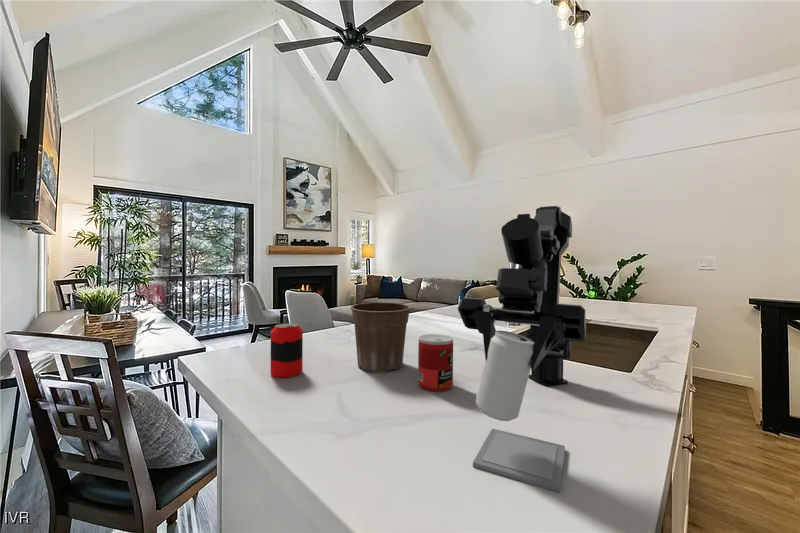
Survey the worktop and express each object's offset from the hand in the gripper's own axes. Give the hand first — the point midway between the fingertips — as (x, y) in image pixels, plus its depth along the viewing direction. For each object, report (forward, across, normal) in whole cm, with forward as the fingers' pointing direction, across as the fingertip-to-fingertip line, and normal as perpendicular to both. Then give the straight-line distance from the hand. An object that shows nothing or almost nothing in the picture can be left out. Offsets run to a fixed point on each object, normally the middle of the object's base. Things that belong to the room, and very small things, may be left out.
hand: (509, 364), depth 50 cm
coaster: (+9, +2, +10) cm, 14 cm away
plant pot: (-8, -40, +28) cm, 50 cm away
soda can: (+4, -56, +16) cm, 59 cm away
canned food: (-4, -21, +24) cm, 32 cm away
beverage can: (+5, -2, +6) cm, 8 cm away
